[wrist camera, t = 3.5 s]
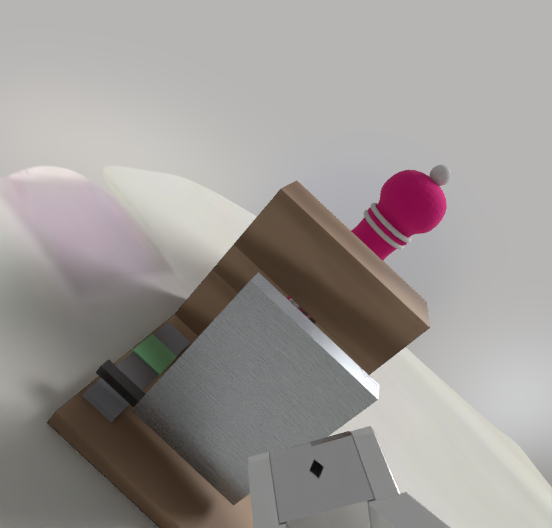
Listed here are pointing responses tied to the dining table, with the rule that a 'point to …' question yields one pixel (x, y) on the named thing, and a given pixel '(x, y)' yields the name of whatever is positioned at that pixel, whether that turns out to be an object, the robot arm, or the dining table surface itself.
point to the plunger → (249, 388)
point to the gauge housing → (200, 314)
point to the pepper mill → (403, 210)
